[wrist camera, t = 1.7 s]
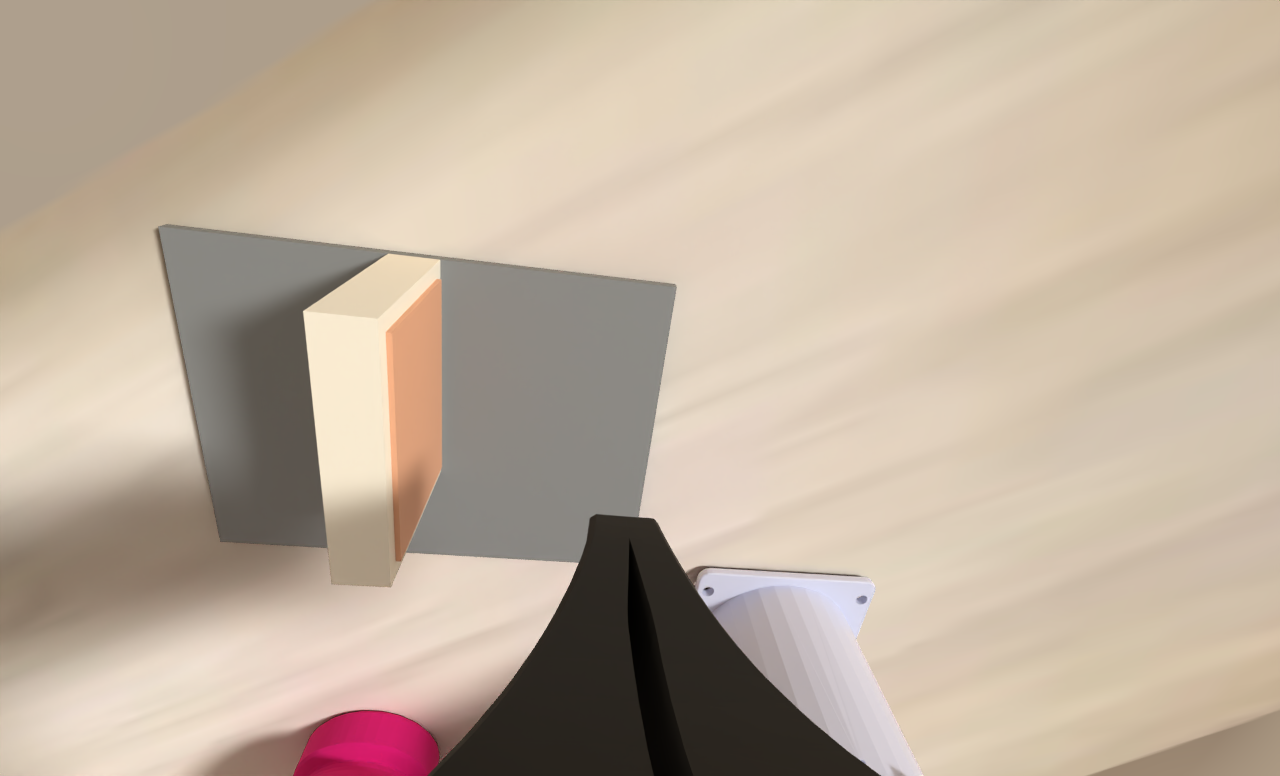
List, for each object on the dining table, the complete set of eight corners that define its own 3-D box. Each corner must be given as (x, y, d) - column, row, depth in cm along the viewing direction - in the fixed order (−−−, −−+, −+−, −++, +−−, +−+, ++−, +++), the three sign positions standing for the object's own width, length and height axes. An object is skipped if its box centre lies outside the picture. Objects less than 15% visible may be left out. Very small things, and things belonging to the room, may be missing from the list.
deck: (445, 471, 22) (396, 587, 17) (396, 467, 22) (331, 584, 16) (445, 260, 19) (384, 319, 13) (388, 253, 19) (303, 310, 13)
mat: (629, 559, 25) (630, 565, 25) (225, 535, 23) (220, 541, 23) (675, 284, 20) (676, 287, 20) (166, 224, 18) (157, 226, 18)
